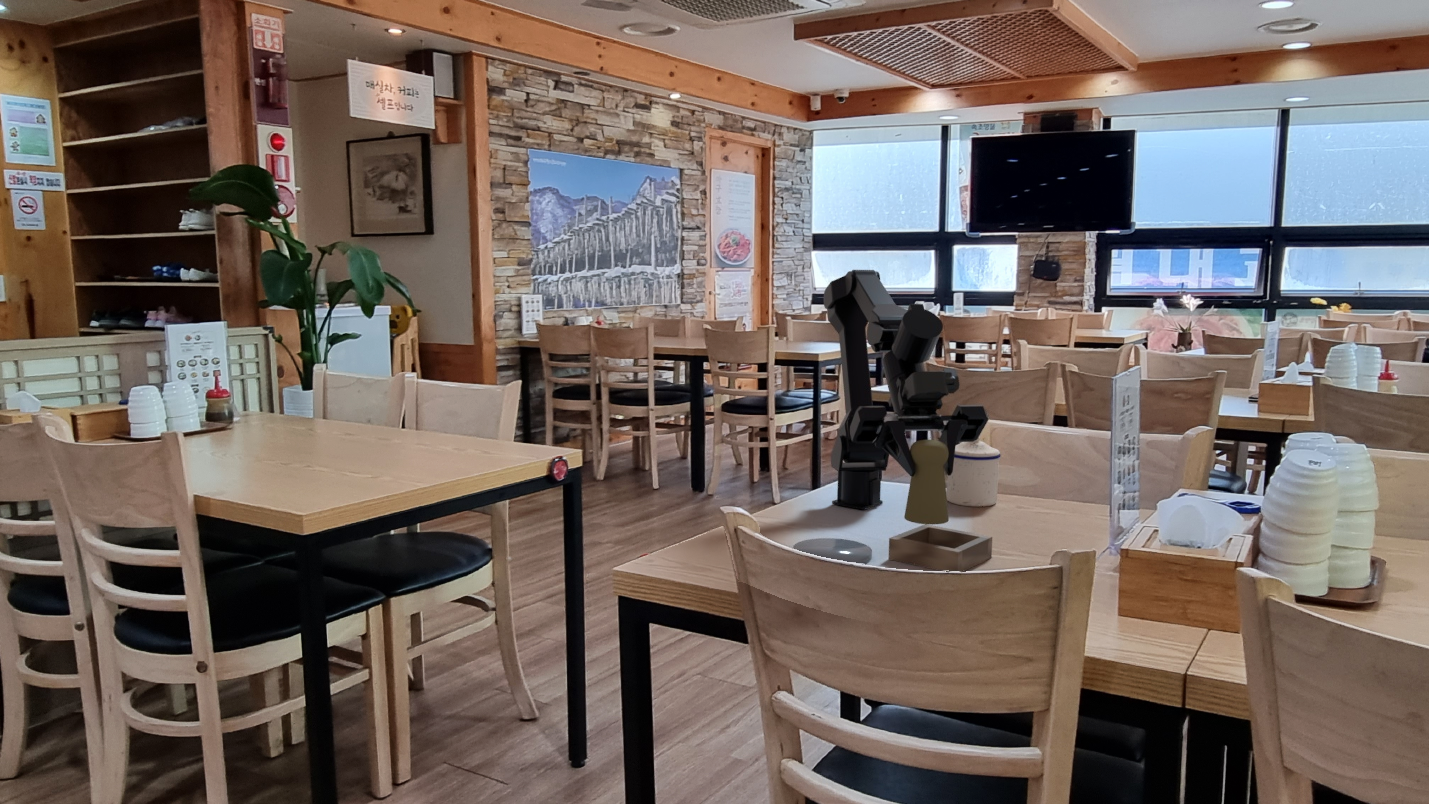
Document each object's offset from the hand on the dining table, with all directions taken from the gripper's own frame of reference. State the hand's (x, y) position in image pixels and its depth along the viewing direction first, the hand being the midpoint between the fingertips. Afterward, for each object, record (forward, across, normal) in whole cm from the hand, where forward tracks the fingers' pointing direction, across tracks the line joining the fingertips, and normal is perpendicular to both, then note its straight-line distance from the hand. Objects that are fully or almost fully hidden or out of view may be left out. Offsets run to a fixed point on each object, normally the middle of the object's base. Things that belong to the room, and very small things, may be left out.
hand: (931, 474), depth 137 cm
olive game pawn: (+4, 0, +6) cm, 7 cm away
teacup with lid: (-16, +20, +34) cm, 43 cm away
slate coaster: (+6, -12, +12) cm, 18 cm away
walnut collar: (+8, +2, +9) cm, 12 cm away
